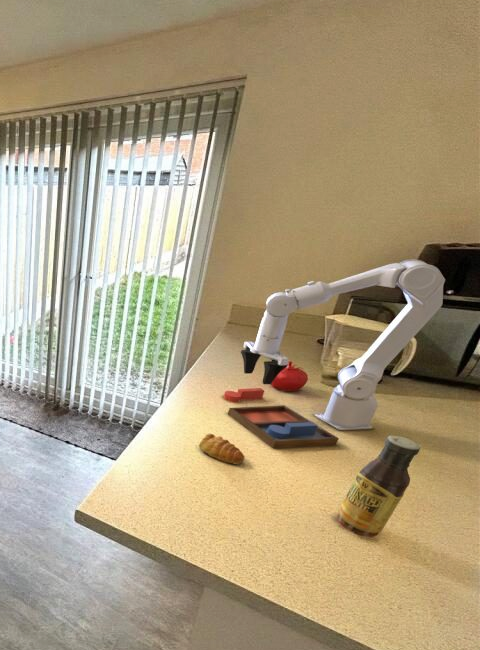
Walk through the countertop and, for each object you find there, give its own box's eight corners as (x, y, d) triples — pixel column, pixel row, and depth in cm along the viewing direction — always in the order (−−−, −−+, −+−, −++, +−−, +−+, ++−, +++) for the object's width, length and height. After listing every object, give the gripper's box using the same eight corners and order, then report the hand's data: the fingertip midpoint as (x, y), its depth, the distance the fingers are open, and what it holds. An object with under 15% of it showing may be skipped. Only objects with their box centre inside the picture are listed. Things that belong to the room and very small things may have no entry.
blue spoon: (304, 428, 105) (307, 419, 104) (318, 438, 101) (322, 428, 100) (263, 430, 105) (266, 421, 103) (275, 440, 101) (279, 430, 99)
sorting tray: (282, 411, 115) (284, 405, 114) (336, 445, 99) (339, 438, 99) (227, 413, 115) (229, 407, 114) (273, 448, 99) (275, 441, 98)
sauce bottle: (326, 516, 78) (364, 431, 70) (355, 513, 78) (396, 428, 70) (359, 542, 72) (404, 452, 64) (390, 539, 72) (439, 450, 64)
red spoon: (254, 394, 125) (257, 386, 124) (265, 400, 121) (267, 392, 120) (220, 396, 125) (222, 387, 124) (229, 402, 121) (231, 393, 120)
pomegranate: (305, 397, 123) (315, 370, 119) (266, 390, 128) (274, 364, 124) (301, 385, 131) (310, 359, 127) (264, 379, 136) (272, 354, 132)
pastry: (248, 459, 95) (252, 446, 93) (233, 469, 92) (237, 456, 90) (209, 441, 102) (212, 429, 101) (194, 449, 99) (197, 437, 97)
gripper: (238, 328, 118) (228, 369, 123) (276, 344, 105) (262, 389, 110) (261, 327, 118) (249, 368, 124) (301, 343, 105) (286, 388, 110)
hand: (257, 378), depth 117 cm, fingers open, 7 cm apart
